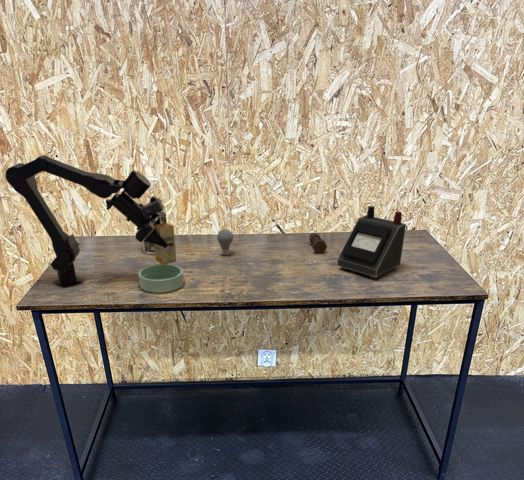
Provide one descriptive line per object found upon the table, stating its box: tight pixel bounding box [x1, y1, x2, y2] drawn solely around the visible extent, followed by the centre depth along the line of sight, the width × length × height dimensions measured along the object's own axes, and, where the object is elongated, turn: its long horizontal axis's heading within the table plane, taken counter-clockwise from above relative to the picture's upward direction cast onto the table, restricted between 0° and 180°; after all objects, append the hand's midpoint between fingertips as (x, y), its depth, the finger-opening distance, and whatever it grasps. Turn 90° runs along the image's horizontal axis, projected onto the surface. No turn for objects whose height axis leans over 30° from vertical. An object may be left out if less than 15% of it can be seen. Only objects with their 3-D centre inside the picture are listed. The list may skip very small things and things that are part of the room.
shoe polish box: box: [154, 222, 177, 265], centre depth 162 cm, size 5×5×12 cm
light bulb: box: [216, 228, 234, 256], centre depth 188 cm, size 6×6×10 cm
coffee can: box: [141, 211, 168, 255], centre depth 192 cm, size 10×10×14 cm
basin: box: [138, 263, 185, 294], centre depth 165 cm, size 14×14×4 cm
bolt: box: [308, 232, 328, 255], centre depth 197 cm, size 6×5×15 cm
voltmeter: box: [336, 205, 407, 280], centre depth 173 cm, size 16×16×20 cm
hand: (168, 242), depth 162 cm, fingers closed on shoe polish box, 7 cm apart
